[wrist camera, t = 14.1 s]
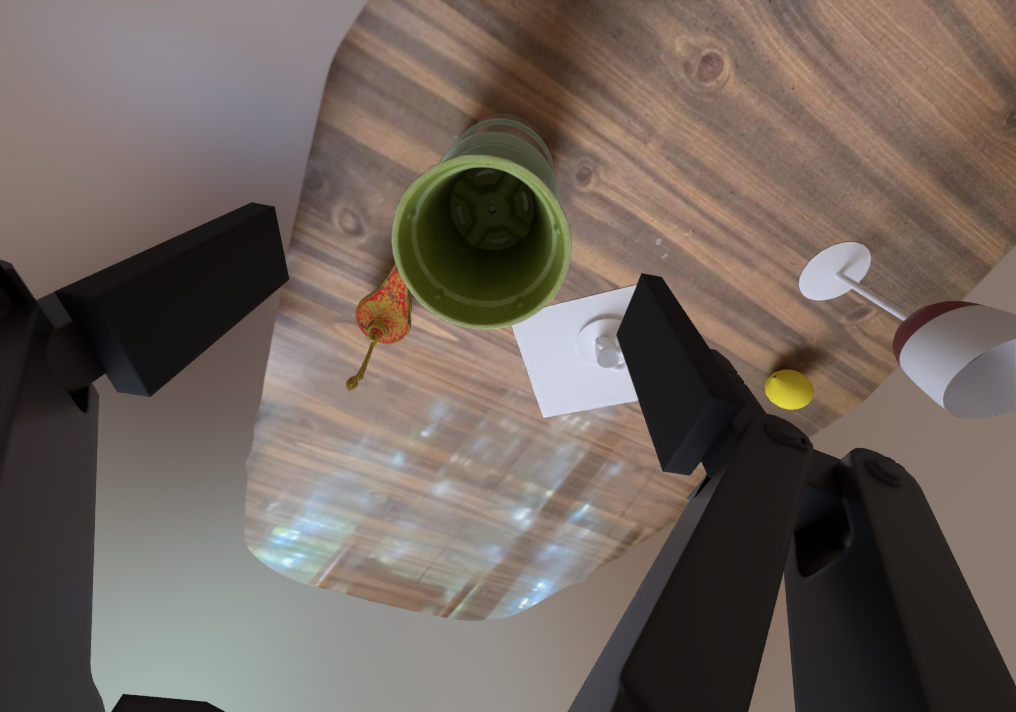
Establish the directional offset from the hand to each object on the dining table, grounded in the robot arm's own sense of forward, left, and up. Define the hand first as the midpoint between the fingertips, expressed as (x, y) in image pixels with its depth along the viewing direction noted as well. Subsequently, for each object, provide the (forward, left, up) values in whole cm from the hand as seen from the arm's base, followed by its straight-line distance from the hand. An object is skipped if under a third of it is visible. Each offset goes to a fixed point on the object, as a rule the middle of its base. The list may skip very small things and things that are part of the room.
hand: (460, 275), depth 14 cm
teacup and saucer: (+24, +17, -31) cm, 43 cm away
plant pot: (+2, 0, -15) cm, 15 cm away
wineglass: (+6, +41, -31) cm, 52 cm away
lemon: (+22, +44, -31) cm, 58 cm away
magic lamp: (+19, -11, -31) cm, 38 cm away
